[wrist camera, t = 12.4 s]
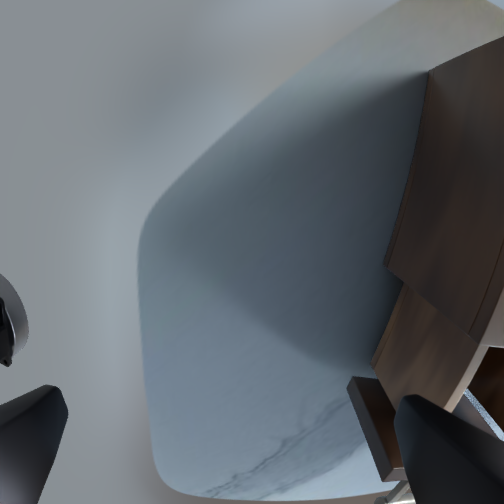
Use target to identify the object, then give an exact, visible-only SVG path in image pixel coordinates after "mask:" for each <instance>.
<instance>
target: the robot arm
mask: <svg viewBox="0 0 504 504" xmlns="http://www.w3.org/2000/svg"><path fill="white" fill-rule="evenodd" d="M0 363H1V364H3V365H5V366H6V367H9V366H10V365H11V364H12V360H11V353H10V346H9V339H8V331H7V322H6V311H5V303H4V300H3V299H2V298H1V297H0ZM67 418H68V409H67V406H66V403H65V401H64V398H63V395H62V393H61V390H60V389H59V388H58V387H56V386H52V385H43V386H41V387H39V388H37V389H35V390H33V391H31V392H28V393H26V394H24V395H22V396H20V397H18V398H15V399H13V400H11V401H9V402H7V403H4V404H2V405H0V504H37V503H38V501H39V498H40V496H41V493H42V490H43V488H44V485H45V483H46V480H47V478H48V475H49V473H50V470H51V468H52V465H53V463H54V460H55V457H56V454H57V451H58V448H59V444H60V441H61V438H62V434H63V431H64V428H65V425H66V422H67ZM394 428H395V432H396V436H397V440H398V444H399V449H400V453H401V457H402V462H403V466H404V470H405V473H406V476H407V479H408V482H409V485H410V488H411V491H412V494H413V497H414V499H415V502H416V504H504V441H502V440H500V439H498V438H496V437H494V436H492V435H490V434H489V433H487V432H485V431H483V430H481V429H479V428H478V427H476V426H474V425H472V424H470V423H468V422H467V421H465V420H463V419H461V418H459V417H457V416H456V415H454V414H452V413H450V412H449V411H447V410H445V409H443V408H441V407H440V406H438V405H436V404H434V403H433V402H431V401H429V400H427V399H426V398H424V397H422V396H420V395H418V394H411V395H405V396H403V397H402V398H401V400H400V403H399V406H398V409H397V412H396V415H395V418H394Z"/></svg>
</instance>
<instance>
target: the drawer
mask: <svg viewBox="0 0 504 504" xmlns="http://www.w3.org/2000/svg"><path fill="white" fill-rule="evenodd" d="M370 365H371V367H372V369H373V370H374V372H375V374H376V376H377V378H378V379H373V378H364V377H356V376H352V378H351V380H350V382H349V384H348V386H347V391H348V394H349V396H350V399H351V402H352V404H353V407H354V409H355V412H356V414H357V417H358V419H359V422H360V425H361V427H362V430H363V432H364V435H365V438H366V440H367V443H368V446H369V448H370V451H371V454H372V456H373V459H374V462H375V464H376V467H377V470H378V472H379V475H380V478H381V481H382V482H390V481H400V482H399V483H398V484H397V485H396V487H395V488H394V489H393V490H392V491H391V492H390V493H389V494H388V495H387V496H382V497H378V498H377V499H376V500H375V502H374V504H416V502H415V499H414V497H413V494H412V493H409V494H404V493H405V492H406V491H407V490H408V489H409V488H410V485H409V482H408V479H407V476H406V473H405V470H404V466H403V462H402V457H401V453H400V449H399V444H398V440H397V436H396V432H395V428H394V418H395V415H396V412H397V409H398V406H399V403H400V400H401V398H402V397H403V396H405V395H411V394H418V395H420V396H422V397H424V398H426V399H427V400H429V401H431V402H433V403H434V404H436V405H438V406H440V407H441V408H443V409H445V410H447V411H449V412H450V413H452V414H454V415H456V416H457V417H459V418H461V419H463V420H465V421H467V422H468V423H470V424H472V425H474V426H476V427H478V428H479V429H481V430H483V431H485V432H487V433H489V434H490V435H492V436H494V437H496V438H498V437H497V435H496V434H495V433H494V431H493V430H492V429H491V427H490V426H489V425H488V424H487V422H486V421H485V420H484V418H483V417H482V416H481V415H480V413H479V412H478V411H477V410H476V408H475V407H474V406H473V405H472V403H471V402H470V401H469V400H468V398H467V397H466V396H465V395H464V392H465V390H466V388H468V390H469V391H470V392H471V393H472V394H473V395H474V397H475V398H476V399H477V400H478V401H479V403H480V404H481V405H482V406H483V407H484V409H485V410H486V411H487V412H488V414H489V415H490V416H491V417H492V418H493V420H494V421H495V422H496V423H497V425H498V426H499V427H500V428H501V430H502V431H503V432H504V348H499V347H491V346H484V345H478V344H477V343H476V342H474V341H473V340H472V339H471V338H470V337H469V336H467V335H466V334H465V333H464V332H463V331H462V330H461V329H459V328H458V327H457V326H456V325H455V324H454V323H452V322H451V321H450V320H449V319H448V318H447V317H446V316H444V315H443V314H442V313H441V312H440V311H438V310H437V309H436V308H435V307H434V306H433V305H431V304H430V303H429V302H428V301H427V300H425V299H424V298H423V297H422V296H420V295H419V294H418V293H417V292H416V291H414V290H413V289H412V288H411V287H409V286H408V285H407V284H406V283H405V282H404V283H403V286H402V289H401V291H400V294H399V297H398V299H397V302H396V304H395V307H394V309H393V312H392V314H391V317H390V319H389V322H388V324H387V326H386V329H385V331H384V333H383V336H382V338H381V340H380V343H379V345H378V347H377V349H376V351H375V354H374V356H373V358H372V360H371V362H370ZM498 439H499V438H498Z"/></svg>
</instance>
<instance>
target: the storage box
mask: <svg viewBox="0 0 504 504" xmlns="http://www.w3.org/2000/svg"><path fill="white" fill-rule="evenodd" d="M383 266H385V267H386V268H387V269H388V270H390V271H391V272H392V273H393V274H395V275H396V276H397V277H398V278H400V279H401V280H402V281H403V282H405V283H406V284H407V285H408V286H409V287H411V288H412V289H413V290H414V291H416V292H417V293H418V294H419V295H420V296H422V297H423V298H424V299H425V300H427V301H428V302H429V303H430V304H431V305H433V306H434V307H435V308H436V309H437V310H438V311H440V312H441V313H442V314H443V315H444V316H446V317H447V318H448V319H449V320H450V321H451V322H452V323H454V324H455V325H456V326H457V327H458V328H459V329H461V330H462V331H463V332H464V333H465V334H466V335H467V336H469V337H470V338H471V339H472V340H473V341H474V342H476V343H477V344H478V345H484V346H491V347H499V348H504V36H503V37H501V38H498V39H496V40H494V41H491V42H489V43H487V44H484V45H482V46H480V47H478V48H475V49H473V50H471V51H469V52H466V53H464V54H462V55H460V56H458V57H456V58H453V59H451V60H449V61H447V62H445V63H443V64H441V65H439V66H437V67H435V68H433V69H431V70H429V75H428V82H427V89H426V95H425V101H424V107H423V112H422V118H421V123H420V128H419V133H418V138H417V142H416V147H415V152H414V156H413V160H412V165H411V169H410V173H409V177H408V181H407V185H406V189H405V192H404V196H403V200H402V203H401V207H400V210H399V214H398V217H397V221H396V224H395V228H394V231H393V234H392V237H391V240H390V244H389V247H388V250H387V253H386V256H385V259H384V262H383Z"/></svg>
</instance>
